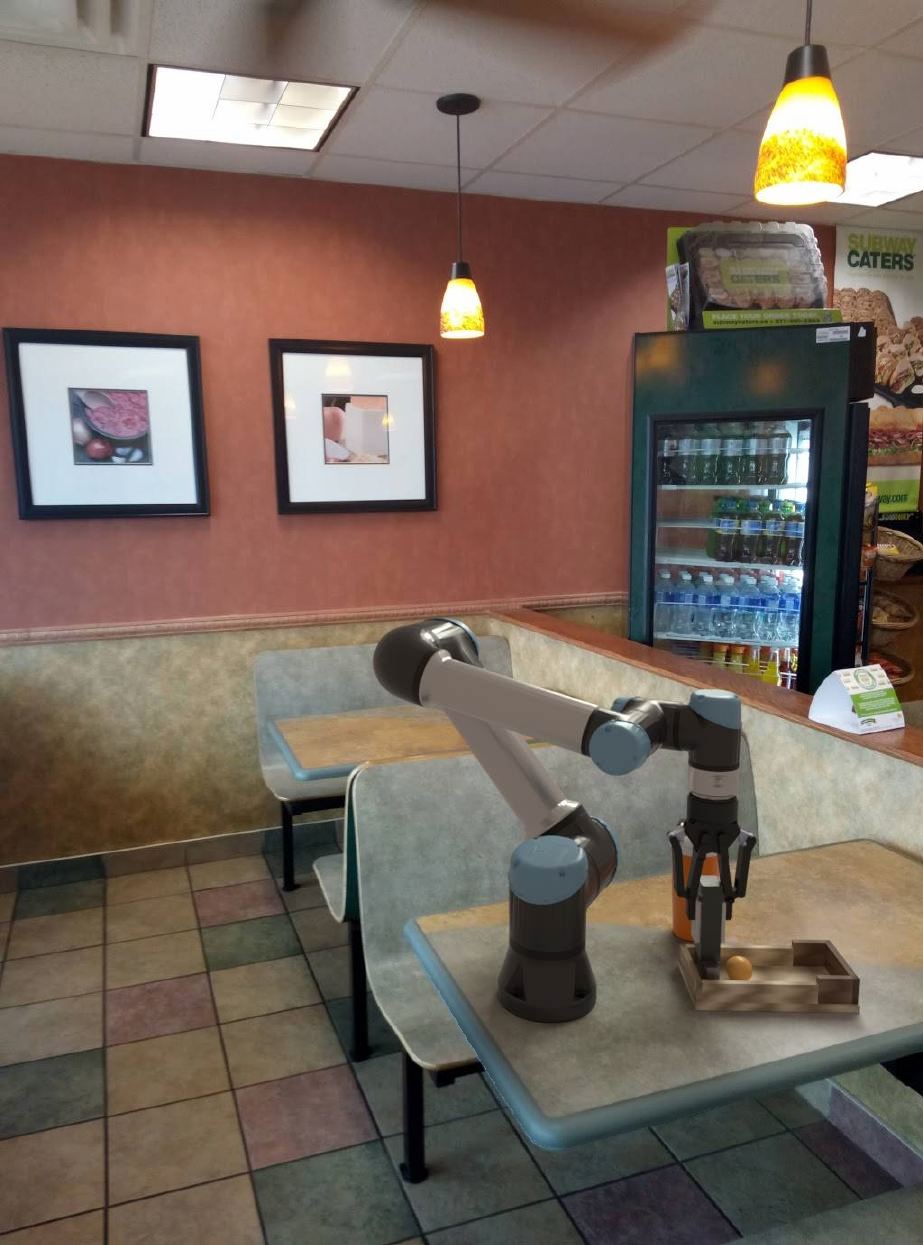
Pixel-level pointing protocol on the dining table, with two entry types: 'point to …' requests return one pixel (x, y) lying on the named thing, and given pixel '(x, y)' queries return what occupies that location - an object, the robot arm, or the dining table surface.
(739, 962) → the ball
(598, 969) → the dining table surface
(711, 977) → the block
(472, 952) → the dining table surface
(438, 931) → the dining table surface
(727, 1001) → the tray
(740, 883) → the robot arm
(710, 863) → the shaker bottle
